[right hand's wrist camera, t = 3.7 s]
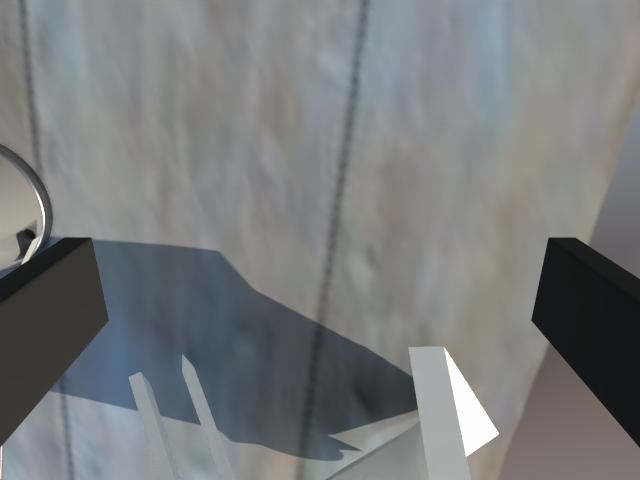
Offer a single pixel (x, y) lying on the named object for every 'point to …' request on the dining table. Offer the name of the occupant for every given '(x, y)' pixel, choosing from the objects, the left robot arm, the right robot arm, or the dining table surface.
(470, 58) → the dining table surface
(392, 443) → the white plastic object
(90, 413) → the dining table surface
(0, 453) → the invitation card
